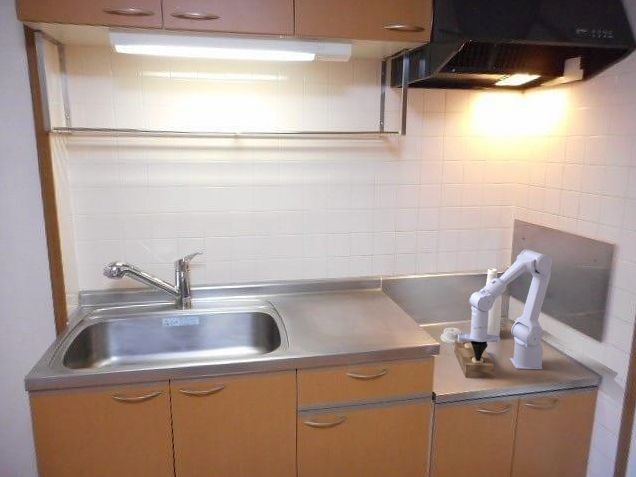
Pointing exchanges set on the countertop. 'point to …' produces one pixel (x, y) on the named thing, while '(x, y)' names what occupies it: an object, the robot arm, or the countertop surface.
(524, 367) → the robot arm
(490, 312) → the white milk bottle
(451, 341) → the mechanical component
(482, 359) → the peg
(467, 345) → the peg
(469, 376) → the collar bar
